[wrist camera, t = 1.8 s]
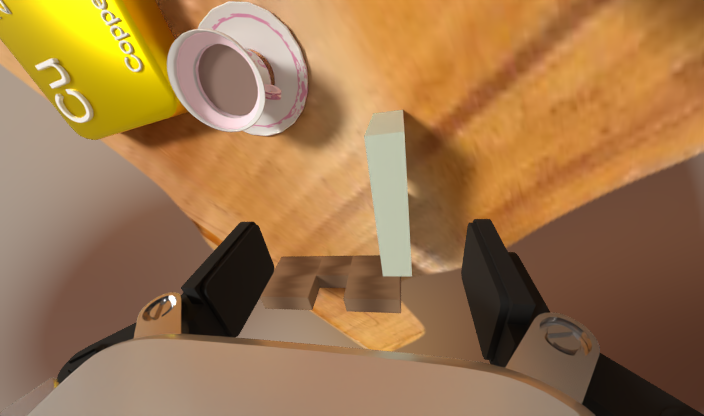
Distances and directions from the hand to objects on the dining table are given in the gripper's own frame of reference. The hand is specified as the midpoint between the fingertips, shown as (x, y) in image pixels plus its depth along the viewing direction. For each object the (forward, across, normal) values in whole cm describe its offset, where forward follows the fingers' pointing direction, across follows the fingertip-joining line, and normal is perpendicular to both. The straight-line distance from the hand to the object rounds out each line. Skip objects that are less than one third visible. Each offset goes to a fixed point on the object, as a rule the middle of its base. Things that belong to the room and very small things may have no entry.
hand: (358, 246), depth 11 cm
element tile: (+19, +28, -11) cm, 35 cm away
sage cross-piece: (+18, -1, +6) cm, 19 cm away
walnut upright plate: (+18, +8, +19) cm, 27 cm away
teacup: (+19, +13, -7) cm, 24 cm away
